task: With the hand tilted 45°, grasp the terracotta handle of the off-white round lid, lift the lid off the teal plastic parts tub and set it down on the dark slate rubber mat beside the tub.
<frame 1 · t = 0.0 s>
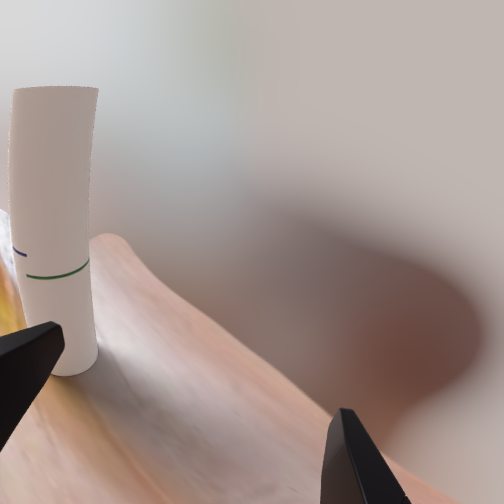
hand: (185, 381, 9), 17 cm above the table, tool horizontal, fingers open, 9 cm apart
cylindrical container: (66, 353, 28), on the table
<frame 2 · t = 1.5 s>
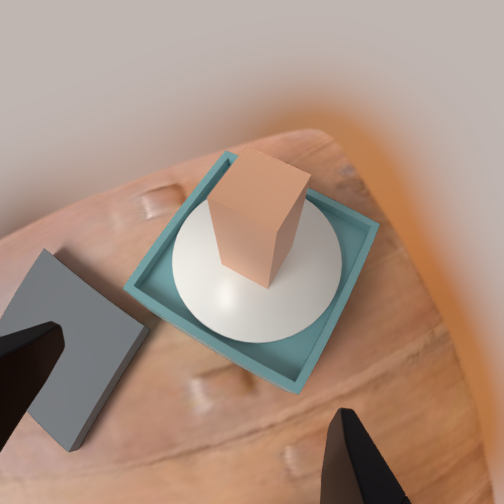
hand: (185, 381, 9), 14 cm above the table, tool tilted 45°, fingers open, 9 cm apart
lid: (257, 260, 20), point 5 cm above the table, touching parts tub
parts tub: (256, 285, 24), on the table
slate mat: (57, 348, 22), on the table
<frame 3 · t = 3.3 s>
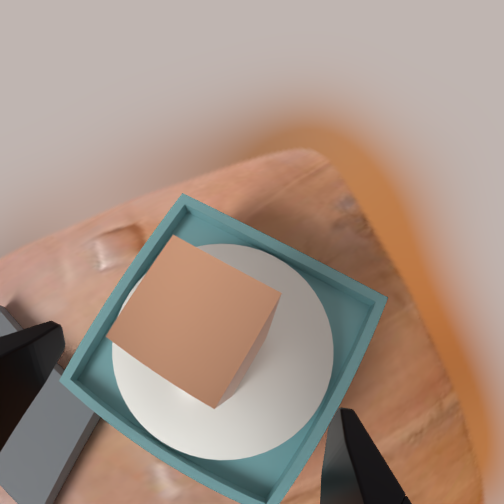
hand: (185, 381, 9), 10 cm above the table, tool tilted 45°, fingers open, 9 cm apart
lid: (220, 351, 14), point 5 cm above the table, touching parts tub
parts tub: (228, 359, 19), on the table
slate mat: (15, 413, 16), on the table
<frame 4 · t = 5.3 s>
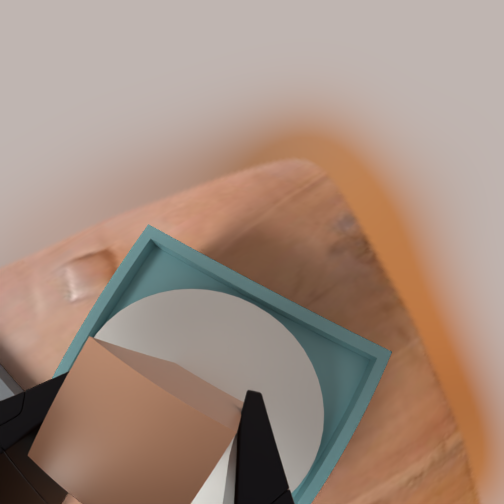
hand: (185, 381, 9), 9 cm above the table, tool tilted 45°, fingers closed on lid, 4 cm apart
lid: (193, 413, 11), point 5 cm above the table, touching gripper, parts tub
parts tub: (209, 404, 16), on the table
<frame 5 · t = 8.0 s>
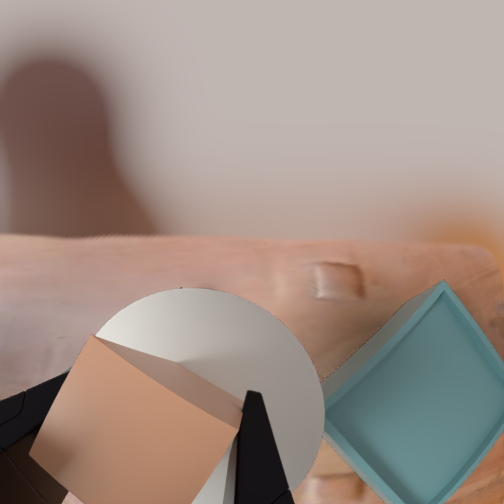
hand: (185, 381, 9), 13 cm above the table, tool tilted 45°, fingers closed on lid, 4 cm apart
lid: (193, 413, 11), point 10 cm above the table, touching gripper
parts tub: (401, 406, 20), on the table
when the fingers open (6 cm above the table, at t = 10.8 s): lid drops 1 cm, resting on slate mat.
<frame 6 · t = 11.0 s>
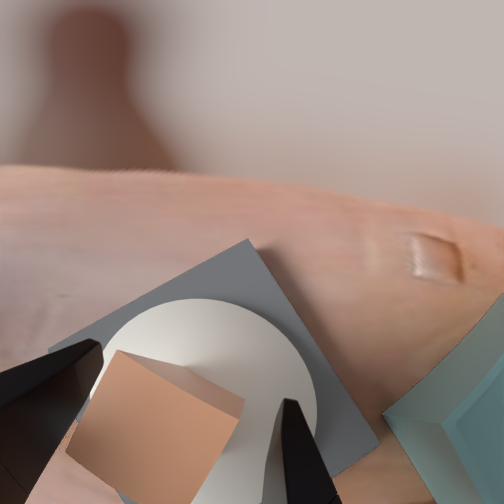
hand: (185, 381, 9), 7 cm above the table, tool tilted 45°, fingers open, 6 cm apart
lid: (199, 411, 13), point 1 cm above the table, touching slate mat
parts tub: (491, 418, 13), on the table
slate mat: (204, 407, 14), on the table
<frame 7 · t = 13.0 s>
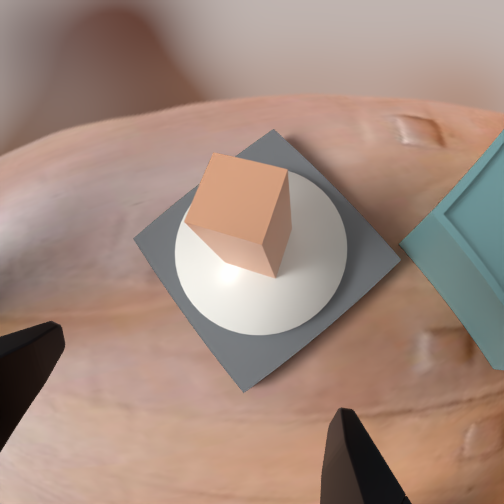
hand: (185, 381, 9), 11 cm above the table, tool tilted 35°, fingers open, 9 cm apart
lid: (260, 249, 19), point 2 cm above the table, touching slate mat
parts tub: (496, 253, 18), on the table
slate mat: (263, 254, 21), on the table
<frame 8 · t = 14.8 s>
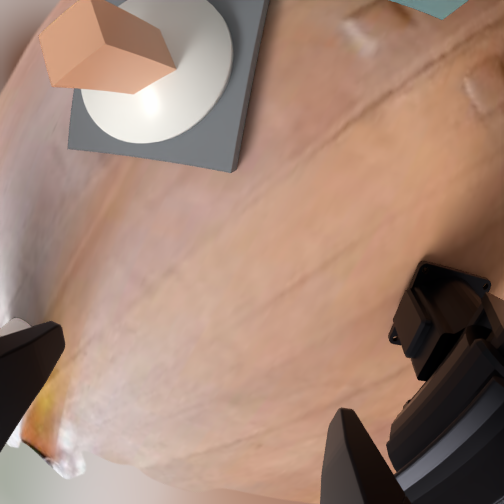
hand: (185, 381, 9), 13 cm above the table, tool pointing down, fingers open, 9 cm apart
cylindrical container: (29, 342, 30), on the table
lid: (152, 63, 16), point 1 cm above the table, touching slate mat
slate mat: (162, 66, 17), on the table
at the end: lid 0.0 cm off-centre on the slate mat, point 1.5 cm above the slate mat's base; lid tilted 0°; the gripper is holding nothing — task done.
